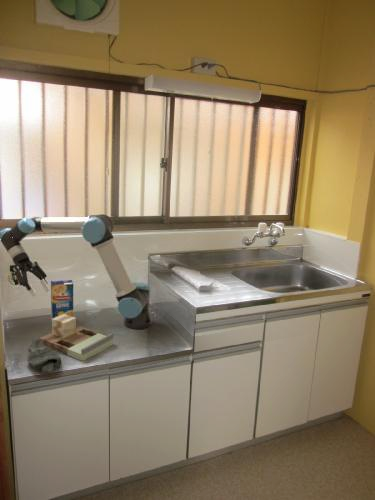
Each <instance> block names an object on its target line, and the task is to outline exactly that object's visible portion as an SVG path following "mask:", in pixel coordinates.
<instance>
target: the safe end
mask: <svg viewBox="0 0 375 500" xmlns="http://www.w3.org/2000/svg"><path fill="white" fill-rule="evenodd" d="M97 333H98V334H96V335H94V336H92V337H90V338H88V339H86V340H84V341H82V342H80V343H78V344H76V345H74V346H72V347H70V348H68V355H67V356H70V357H72V358H74V359H77V360H80V361H81V362H84V361H86V360H88V359H90V358H91V357H93V356H94V355H96V354H99V353H100V352H102V351H104V350H105V349H107V348H108V347H110V346H113V345H114V333H109V334H108V335H104V334H103V333H99V332H97ZM87 358H88V359H87Z"/></svg>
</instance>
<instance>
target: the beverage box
mask: <svg viewBox="0 0 375 500" xmlns="http://www.w3.org/2000/svg"><path fill="white" fill-rule="evenodd" d="M50 295H51V296H50V299H51V300H50V305H51V306H50V307H51V310H50V311H51V320H52V319H53V318H55V317H58V316H60V315H63V314H66V315H69V316H72V317H74V281H73V280H72V279H69V280H68V279H66V280H50Z"/></svg>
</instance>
